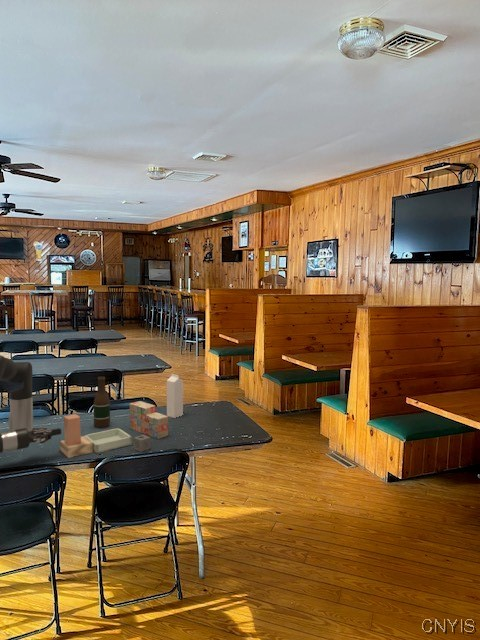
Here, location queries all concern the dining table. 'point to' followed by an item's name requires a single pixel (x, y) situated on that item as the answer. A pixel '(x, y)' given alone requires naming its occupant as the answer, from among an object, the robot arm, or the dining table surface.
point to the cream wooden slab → (77, 448)
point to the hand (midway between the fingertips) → (60, 430)
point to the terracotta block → (72, 430)
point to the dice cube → (142, 443)
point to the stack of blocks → (148, 420)
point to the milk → (174, 396)
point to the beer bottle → (101, 406)
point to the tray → (109, 440)
